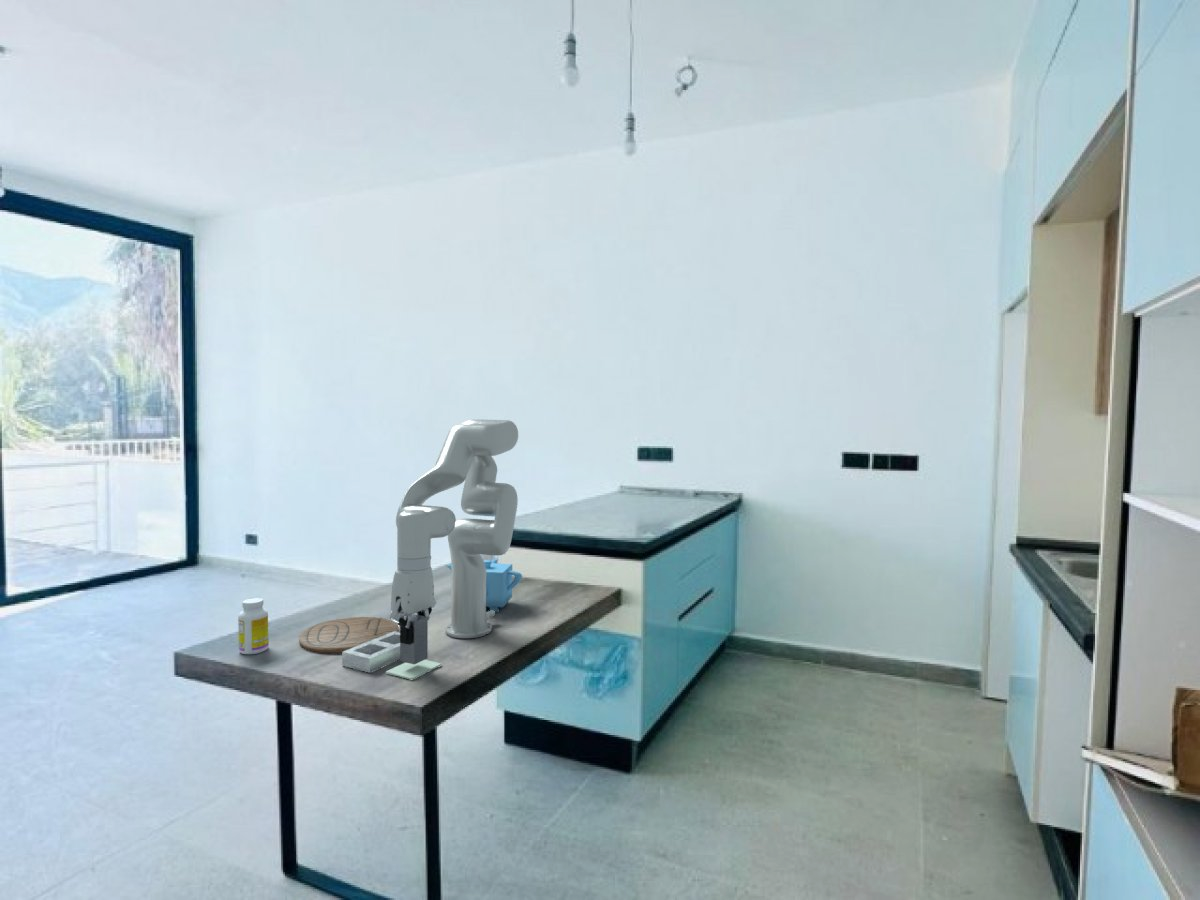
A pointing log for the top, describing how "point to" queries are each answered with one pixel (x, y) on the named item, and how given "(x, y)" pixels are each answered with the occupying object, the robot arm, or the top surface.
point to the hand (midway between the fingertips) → (413, 639)
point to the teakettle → (499, 583)
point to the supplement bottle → (253, 627)
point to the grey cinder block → (373, 653)
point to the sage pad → (413, 669)
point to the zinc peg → (416, 641)
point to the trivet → (344, 633)
